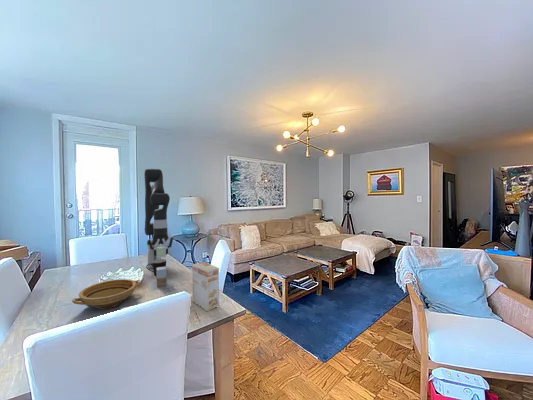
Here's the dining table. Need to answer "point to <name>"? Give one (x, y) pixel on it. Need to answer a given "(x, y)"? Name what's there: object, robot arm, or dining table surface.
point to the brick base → (161, 282)
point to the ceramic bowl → (106, 293)
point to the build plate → (154, 286)
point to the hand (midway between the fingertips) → (161, 255)
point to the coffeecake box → (205, 285)
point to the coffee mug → (157, 265)
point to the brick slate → (161, 272)
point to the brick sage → (161, 251)
